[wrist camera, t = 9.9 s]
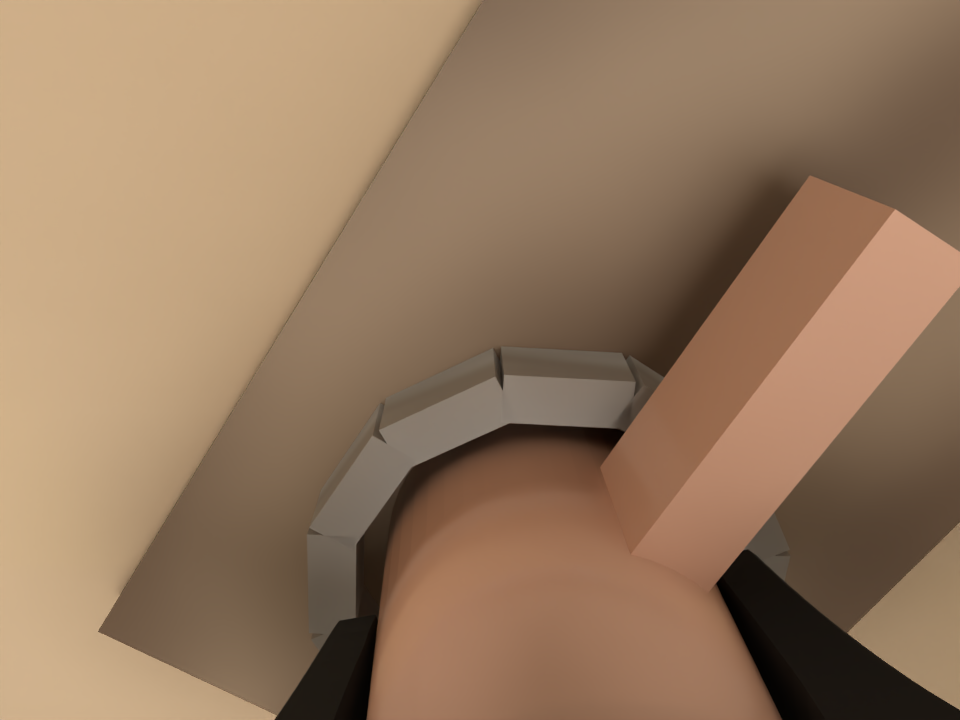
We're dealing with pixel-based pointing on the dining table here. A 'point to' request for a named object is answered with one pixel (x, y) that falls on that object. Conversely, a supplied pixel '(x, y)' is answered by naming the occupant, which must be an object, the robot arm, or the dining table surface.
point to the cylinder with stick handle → (649, 496)
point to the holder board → (571, 304)
